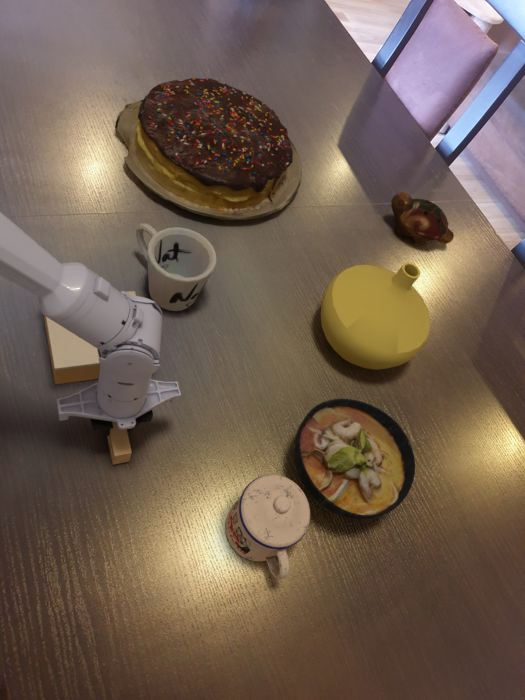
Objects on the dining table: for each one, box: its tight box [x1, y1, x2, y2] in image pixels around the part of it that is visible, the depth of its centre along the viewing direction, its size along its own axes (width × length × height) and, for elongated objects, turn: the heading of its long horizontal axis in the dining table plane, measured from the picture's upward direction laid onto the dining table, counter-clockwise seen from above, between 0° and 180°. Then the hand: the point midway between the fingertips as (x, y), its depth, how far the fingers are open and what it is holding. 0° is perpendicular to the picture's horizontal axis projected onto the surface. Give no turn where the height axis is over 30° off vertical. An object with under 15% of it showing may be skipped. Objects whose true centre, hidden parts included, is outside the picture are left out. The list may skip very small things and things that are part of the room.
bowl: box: [293, 398, 416, 521], centre depth 80 cm, size 17×17×10 cm
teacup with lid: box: [225, 474, 311, 580], centre depth 71 cm, size 12×9×12 cm
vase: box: [320, 261, 431, 370], centre depth 91 cm, size 18×18×19 cm
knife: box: [98, 349, 133, 466], centre depth 78 cm, size 18×2×3 cm, turn 18°
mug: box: [135, 222, 217, 312], centre depth 89 cm, size 10×15×10 cm
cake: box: [114, 77, 303, 221], centre depth 109 cm, size 37×37×10 cm
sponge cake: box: [43, 290, 137, 385], centre depth 82 cm, size 13×12×5 cm
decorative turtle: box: [390, 192, 455, 246], centre depth 115 cm, size 10×15×8 cm, turn 78°
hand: (115, 427), depth 76 cm, fingers closed on knife, 2 cm apart
